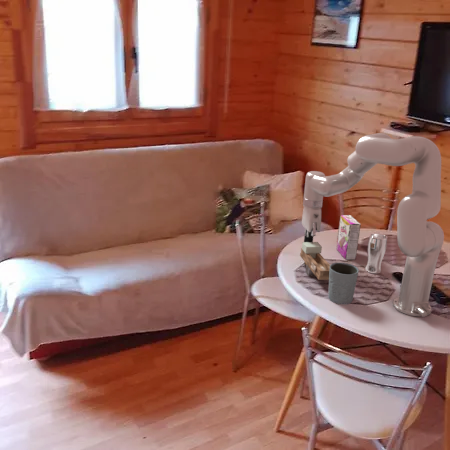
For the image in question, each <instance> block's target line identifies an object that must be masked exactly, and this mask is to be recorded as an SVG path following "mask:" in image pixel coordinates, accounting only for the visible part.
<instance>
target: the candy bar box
mask: <svg viewBox="0 0 450 450" xmlns="http://www.w3.org/2000/svg"><path fill="white" fill-rule="evenodd" d="M339 222H340V225H339V224H338V230H339V234H338V233H337V237H338V242H337V241H336V251H337V252H338V253H339V254H340V255H341V257H343V259H345V261H350V260H351V261H352V260H356V259H357V254H358V253H357V252H358V246H359V239H360V231H361V225H362V223H360V222H359V221H358V220H357V219H356V218H354V217H353V216H352V215H350V214H341V215H340V217H339Z"/></svg>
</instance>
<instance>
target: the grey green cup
mask: <svg viewBox="0 0 450 450" xmlns="http://www.w3.org/2000/svg"><path fill="white" fill-rule="evenodd" d="M359 273H360V270H359V268H358V267H357V266H356V265H354V264H351V263H348V262H347V263H346V262H333V263H331V264H330V269H329V280H328V293H327V294H328V296H327V298H328V299H329V301H330V302H332V303H335V304H338V305H349V304H351V303H352V302H353V301H354V300H353V299H354V295H355V290H356V284H357V281H358V276H359Z"/></svg>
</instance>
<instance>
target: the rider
mask: <svg viewBox="0 0 450 450" xmlns="http://www.w3.org/2000/svg"><path fill="white" fill-rule="evenodd" d="M301 243H302V244H301V248H302V250H303V251H304V252H305V253H306V254H310V255H311V257H312V258H316V253H320V254H322V251H323V249H322V248H323V247H322V245H321V244H320V243H319V242H318V241H313V242H304V241H303V242H301Z"/></svg>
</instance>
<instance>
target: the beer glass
mask: <svg viewBox="0 0 450 450" xmlns="http://www.w3.org/2000/svg"><path fill="white" fill-rule="evenodd" d="M387 242H388V236H387V235H385V234H384V233H379V232H376V233H375V232H374V233H370V234H369V238H368V243H367V261H366V262H367V263H366V265H365V268H364V270H365V271H366V272H367V271H368V272H367V273H370V274H380V273H381V272H382V262H383V258H384V256H385V253H386V250H387V244H388V243H387Z"/></svg>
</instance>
